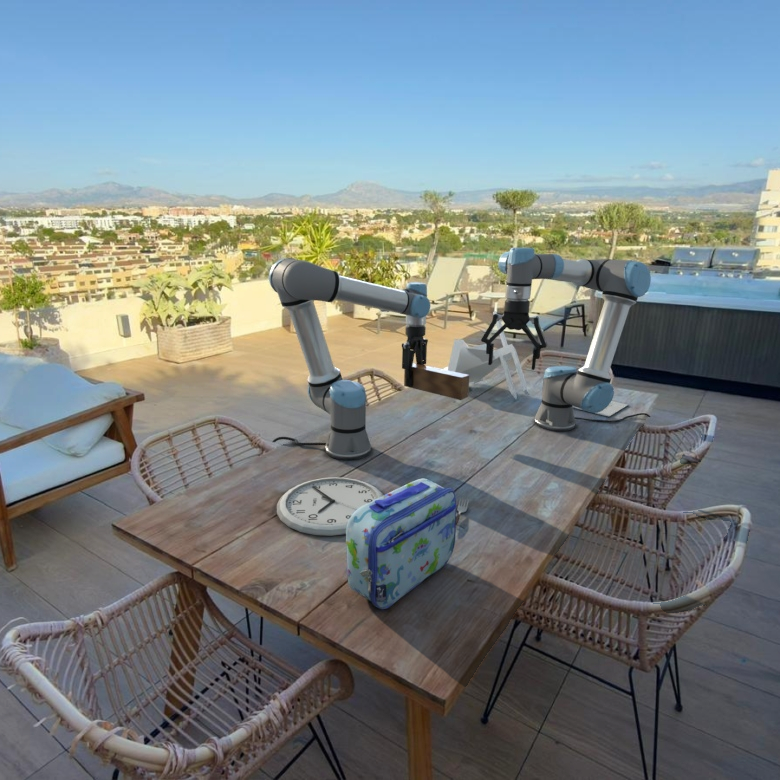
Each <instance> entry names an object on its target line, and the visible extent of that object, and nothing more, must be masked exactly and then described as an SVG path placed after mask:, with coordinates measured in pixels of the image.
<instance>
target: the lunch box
mask: <svg viewBox="0 0 780 780" xmlns="http://www.w3.org/2000/svg"><path fill="white" fill-rule="evenodd" d="M456 498H457V496H456V493H455V491H454V489H452V488H450V487H443V486H441V485H439V484H438V483H436V482H433V481H432V480H430V479H427V478H423V477H422V478H418V479H416V480H413V481H411V482H409V483H406V484H405V485H402V486H400V487H398V488H396V489H394V490H392V491H390V492H388V493H386V494H384V496H382V497H380V498H378V499H376V500H374V501H372V502H370V503H368V504H366V505H364V506H362V507H360V508H358V509H357V510H356V511H355V512H354V513H353V514H352V515H351V517H350V519H349V521H348V524H347V528H346V534H345V547H346V549H345V550H346V572H347V573H346V575H347V584H348V587H349V589H350V590H351V591H353V592H355V593H357V594H358V595H361V596H363V597H364V598H365V599H367V600H368V601H369V602H371V604H372V605H373V606H374V607H376V608H377V609H380V610H386V609H389V608H391V607H393V605H395V603H397V602H398V601H399V600H400V599H402V598H403V597H404V596H405V595H408V593H410V592H411V591H412V590H413V589H415V588H416V587H417V586H419V585H420V584H421V583H423V581H424V580H425V579H427V578H428V577H430V576H431V575H433V574H435V573H437V572H438V571H439V570H441V569H442V568H443V567H444V566H446V564H447V563H448V562H449V560H450V559H451V556H452V555H453V552H454V548H455V544H456V531H457V530H456V529H457V525H456V516H457V499H456Z"/></svg>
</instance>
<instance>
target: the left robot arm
mask: <svg viewBox="0 0 780 780" xmlns="http://www.w3.org/2000/svg"><path fill="white" fill-rule="evenodd" d="M268 280H269V281H268V282H269V285H270V287H271V288H272V290H273V291H274V292H275V293H277V295H278V299H279V301H280V304H281V307H282V308H285V309H287V311H288V314H289V316H290V319H291V322H292V325H293V328H294V330H295V334H296V337H297V339H298V340H297V341H298V343H299V346H300V348H301V351H302V354H303V358H304V360H305V363H306V366H307V369H308V373H309V375H308V377H307V383H308V386H307V394H308V397H309V400H310V401H311V402H312V403H313V404H314V405H315V406H317V408H319V409H322V410H323V411H324V412H325V413H327V414H328V415H330V430H329V431H330V432H329V435H328V437H327V440H326V442H299V441H298V439H296V438H294V437H289V436H278V437H276V438H274V439H272V440H271V442H272V443H276V442H278V441H280V440H286V441H290V442H291V441H292V442H295V444H296V445H297V446H325V453H326V455H327V456H329V457H331V458H333V459H337V460H343V461H353V460H359V459H362V458H365V457H367V456H369V454H371V451H372V444H371V441H372V438H370V439H369V435H368V433H367V429H366V425H367V424H366V423H367V421H366V420H367V418H366V417H367V415H366V412H367V411H366V410H367V409H366V407H367V393H366V389H365V387H364V385H363V384H361V383H359V382H358V381H354V380H353V381H352V380H349V379H343V377H342V373H341V370H340V369H339V368H338V367H336V366H335V365H334V363H333V359H332V356H331V352H330V350H329V347H328V343H327V340H326V337H325V333H324V331H323V327H322V324H321V320H320V318H319V314H318V311H317V308H316V305H315V301H319V302H324V303H325V302H326V303H333V302H334V301H338V302H342V303H347V304H351V305H357V306H361V307H367V308H371V309H377V310H379V311H380V312H384V313H389V312H391V313H396V314H400V315H403V316H404V315H405V324H406V325H405V331H404V333H405V334H404V335H405V336H406V337H407V339H406V342H405V343H401V350H402V354H401V369H402V370H406V386H409V387H408V388H410V387H413V370H412V365H413V363H414V359H415V364H420V365H426V364H427V356H428V355H427V354H428V352H427V350H428V344H429V343H428V342H429V339H428V338H424V337H425V336H426V329H427V327H426V324H427V315H428V314H429V312H430V310H431V302H430V301H431V300H430V299H429V298H428V288H427V284H426V283H425V282H407V284H406V287H405V288H403V289H397V288H392V287H388V286H386V285H385V286H384V285H381V284H377V283H372V282H367V281H364V280H359V279H356V278H351V277H347V276H342V275H340V273H339V272H338V271H336V270H333V269H329V268H325V267H323V266H321V265H319V264H315V263H312V262H310V261H308V260H301V259H296V258H293V257H287V258H281V259H279V260H277V261H275V263H274V264H272V266H271V268H270V270H269V274H268ZM406 386H405V387H406Z"/></svg>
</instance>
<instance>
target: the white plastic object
mask: <svg viewBox="0 0 780 780" xmlns="http://www.w3.org/2000/svg"><path fill="white" fill-rule="evenodd" d="M495 313H497V311H496V310H495V311H492V315H494V314H495ZM495 326H496V328H497V331H498V330H499V329H500V328H501V327H502V326H503V324H502V320H501V319H500V320H499V321H497V323H496V324H495ZM498 336H499V338H500V342H501V345H502V347H500V348H498V349H496V350H495V349H493V361H492V364H491V365H488V363H489V354H486V346H487V345H486V343H483V344H479V345H473V346H469V345H468V343H466V342H465V340H464V339H463V338H460V339H458V338H454V340H453V344H452V349H451V353H450V357H449V362H448V366H446V367H444V368H443V369H444V370H448V371H453V372H458V373H463V374H467V375H469V383H473V384H477V383H480V382H482V381H484V378H485V377H486V376H487V375H489V374H490V373H492V372H494V371H495V370H496V369H497V368H499V367H500V366H502V370H503V373H504V376H505V380H506V383H507V386H508V390H509V393H510V394H511V395H512V397H513V398H514V399H515V400H517V392H516V391H517V390H516V388H515V385H514V381H513V378H512V375H511V371H510V369H509V365H508V361H510V360H513V363H514V366H515V369H516V372H517V376H518V380H519V382H520V385H521V389H522V391H523V393H524V395H525V396H526V397H528V396H531V395H530V390H529V388H528V387H529V386H528V384H527V381H526V378H525V375H524V371H523V369H522V368H523V367H522V366H521V362H520V359H519V355H518V352H517V349H516V347H515V346H514V345H513V343H511V344H508V341H507V337H506V334H505V330H504V331H503V332H502V333H500V334H499V335H498Z"/></svg>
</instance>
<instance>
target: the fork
mask: <svg viewBox="0 0 780 780" xmlns="http://www.w3.org/2000/svg"><path fill="white" fill-rule="evenodd" d="M464 498H465V497H460V499H459V502H458V505H457V506H456V512H458V513H457V514H456V526H457V525H458V524H459V520H460V516H461V514H463V513H465V512H467V511H468V506H469V500H470V498H467V499H464ZM466 501H467V502H466Z"/></svg>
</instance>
